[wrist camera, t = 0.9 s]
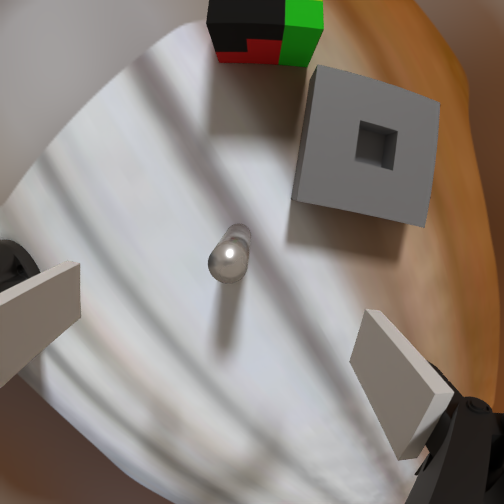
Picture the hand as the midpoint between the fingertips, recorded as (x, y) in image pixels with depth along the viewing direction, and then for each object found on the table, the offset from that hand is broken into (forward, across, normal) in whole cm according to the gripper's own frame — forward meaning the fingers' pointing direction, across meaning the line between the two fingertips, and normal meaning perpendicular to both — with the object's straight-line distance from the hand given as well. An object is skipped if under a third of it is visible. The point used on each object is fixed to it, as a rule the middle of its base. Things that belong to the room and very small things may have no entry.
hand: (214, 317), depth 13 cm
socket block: (+22, +12, +12) cm, 28 cm away
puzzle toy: (+23, -1, +25) cm, 34 cm away
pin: (+22, 0, 0) cm, 22 cm away
